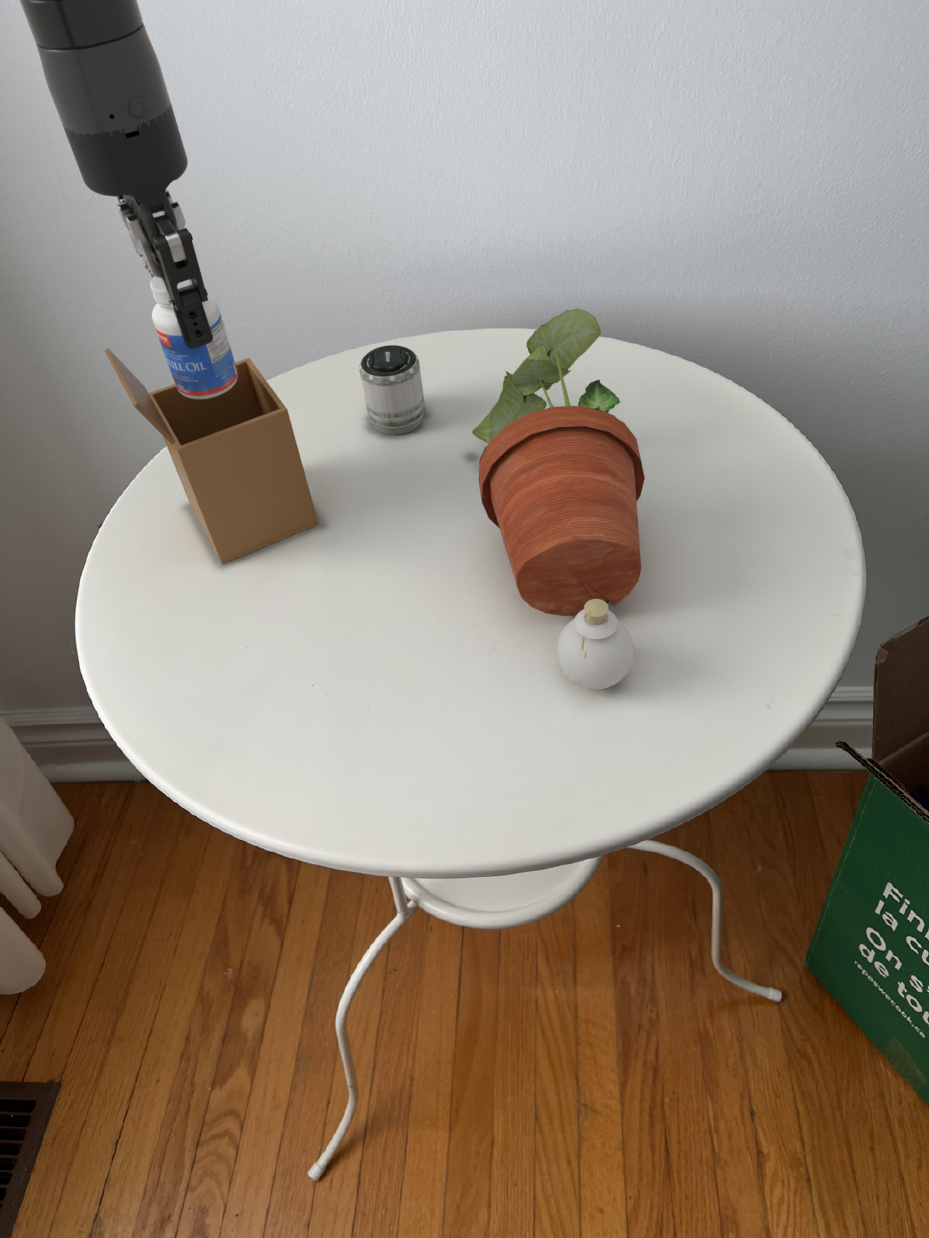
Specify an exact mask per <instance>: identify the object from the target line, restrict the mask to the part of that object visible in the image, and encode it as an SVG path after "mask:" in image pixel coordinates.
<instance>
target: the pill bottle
mask: <svg viewBox="0 0 929 1238" xmlns="http://www.w3.org/2000/svg"><path fill="white" fill-rule="evenodd" d="M189 285H190V283H189V280H187V281H183V282H180V283H179V284H178V285H177V288H178V289H179V288H182V287H185V286H189ZM149 286H150V290H151V293H152V298H153V299H154V301H155V302H156V304H155V305H154V307H153V308H152V311H151V319H152V323H153V326H154V329H155V332H156V334H157V337H158V340H159V343H160V346H161V349H162V351H163V354H164V357H165V359H166V363H167V365H168V368H169V371H170V374H171V377H172V379H173V382H174V383H173V384H175V385H176V388H177V390H178V391H179V392H180V393H181V394H182V395H183V396H185V397H188V398H191V399H209V398H213V397H216V396H219V395H221V394H223V393H225V392H227V391H228V390H230V389H231V388H232V387H233V386H234V385H235V383H236V381H237V377H238V374H237V369H236V365H235V362H236V361H235V359H234V355H233V352H232V351H233V350H232V347H231V345H230V341H229V337H228V334H227V331H226V330H227V329H226V328H225V324H224V320H223V317H222V314H221V310H220V307H219V304H218V302H217V300H216V299H215V298H214V297H213V296H212V295H211V294H209V293H208V295H207V297H208V301H205V302H202V304H203V307H204V310H205V313H206V317H207V320H208V323H209V326H210V329H211V332H212V335H213V340H212V341H211V342H210V343H208V344H206V345H203V346H200V347H197V348H194V349H191V348H189V347H187V345H186V344H185V342H184V340H183V337H182V334H181V331H180V328H179V325H178V322H177V319H176V316H175V313H174V311H173V308H172V306H171V304H169V303H168V300H167V298H168V296H167V294H166V291H165V289H164V286H163V284H162V281H161V279H160V278H157V277H153V278H152V277H151V279H150V281H149Z"/></svg>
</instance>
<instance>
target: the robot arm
mask: <svg viewBox="0 0 929 1238" xmlns="http://www.w3.org/2000/svg"><path fill="white" fill-rule="evenodd" d="M19 2H20V5H21V8H22V10H23V13H24V16H25V18H26V21H27V25H28V26H29V29H30V32H31V34H32V37H33V40H34V42H35V45H36V49H37V51H38V55H39V58H40V63H41V66H42V71H43V75H44V78H45V79H44V80H45V82H46V86H47V88H48V90H49V91H48V92H49V94H50V96H51V98H52V101H53V104H54V106H55V109H56V112H57V114H58V117H59V120H60V122H61V125H62V127H63V128H62V129H63V130H64V133H65V135H66V138H67V141H68V143H69V146H70V148H71V151H72V154H73V156H74V159H75V162H76V164H77V167H78V169H79V173H80V175H81V178H82V180H83V182H84V185H85V186H86V187H87V188H88V189H89V190H90V191H92V192H94V193H96V194H98V195H101V196H106V197H114V198H115V197H116V198H117V200H118V204H116V206H117V209H118V214H119V216H120V218H121V220H122V222H123V224H124V226H125V227H126V228H127V232H128V235H129V239H130V241H131V243H132V246H133V248H134V249H135V252H136V254H138V255H139V257H140V258H142V260H143V262H142V264H143V267H144V269H145V270H146V271H147V272H148V273H149V274H150V276H151V279H152V278H153V277H157V278H160V279H161V281H162V284H163V286H164V289H165V291H166V294H167V296H168V298H167V300H168V303H169V304H171V306H172V308H173V311H174V313H175V316H176V319H177V322H178V325H179V328H180V331H181V334H182V337H183V340H184V342H185V344H186V345H187V347H189V348H191V349H194V348H197V347H200V346H203V345H206V344H208V343H210V342H211V341H212V340H213V335H212V332H211V329H210V326H209V323H208V320H207V317H206V313H205V310H204V307H203V304H202V302H205V301H208V297H207V295H208V294H209V293H208V291H207V289H206V287H205V282H204V279H203V276H202V272H201V268H200V264H199V261H198V257H197V254H196V250H195V246H194V242H193V240H194V238H193V235H192V233H191V232H190V231H189V229H188V228H187V227H185V226H186V219H185V216H184V213H183V211H182V207H181V206H180V204H179V202H178V200H177V201H173V198H172V195H171V193H170V192H169V190H168V187H169V186H170V185H171V183H173V182H174V181H177V180H179V178H181V177H182V176H183V175H184V173H185V172H186V171H187V168H188V162H189V161H188V160H189V159H188V156H187V152H186V149H185V146H184V142H183V139H182V136H181V132H180V129H179V126H178V125H179V124H178V123H177V119H176V115H175V112H174V109H173V104H172V101H171V98H170V95H169V91H168V87H167V84H166V81H165V78H164V77H165V76H164V74H163V71H162V68H161V67H162V66H161V64H160V61H159V59H158V55H157V54H156V51H155V48H154V46H153V44H152V42H151V40H150V37H149V34H148V32H147V29H146V26H145V24H144V22H143V15H142V14H141V9H140V6H139V2H138V0H19ZM187 280H189V283H190V285H189V286H185V287H182V288H179V289H178V288H177V285H178V284H179V283H180V282H183V281H187Z"/></svg>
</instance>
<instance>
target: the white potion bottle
mask: <svg viewBox="0 0 929 1238" xmlns="http://www.w3.org/2000/svg"><path fill="white" fill-rule="evenodd" d="M634 646H635V645H634V642H633V637H632V635H631V633H630V632H629V630H628V629H627V627H626V626H625V625H624V624H623V623H622V622H621V621H620V620H619V619H618V617H617V616H616V615H615V613H613V611H612V610H610V608H609V604H607V603H606V602H605V601H603V600H601V599H592V600H589V601H588V602H586V604H585V606H584V609H583V610H582V611H580V612H579V613H578V614H577V615H576V616H575V617H574V618H573V619H571V620H570V621H569V622H568V623H567V624H566V625H565V626H564V627H563V628H562V631H561V632H560V633H559V635H558V638H557V642H556V650H555V652H556V660H557V663H558V666H559V668H560V670H561V672H562V673H563V675H564V676H565V677H566V678H567V679H568V681H570V682H572V684H574V685H576V686H578V687H581V688H583V689H587V690H594V691H595V690H604V689H608V688H610V687H612V686H615V685H616V684H618V683H619V682H620V681H622V680H623V679H624V678H625V677H626V676H627V674H628V672H629V671H630V669H631V667H632V665H633V662H634V656H635V647H634Z"/></svg>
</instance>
